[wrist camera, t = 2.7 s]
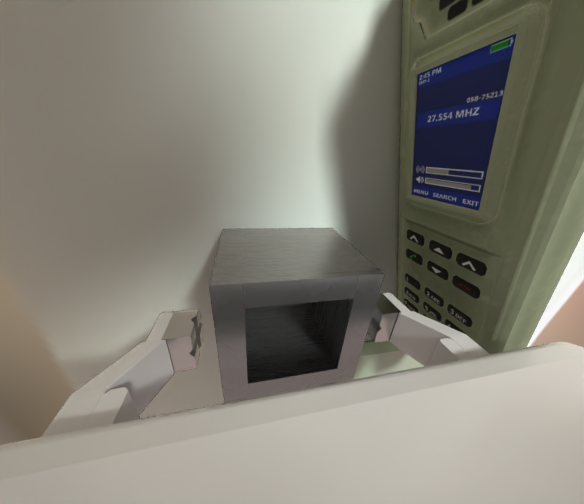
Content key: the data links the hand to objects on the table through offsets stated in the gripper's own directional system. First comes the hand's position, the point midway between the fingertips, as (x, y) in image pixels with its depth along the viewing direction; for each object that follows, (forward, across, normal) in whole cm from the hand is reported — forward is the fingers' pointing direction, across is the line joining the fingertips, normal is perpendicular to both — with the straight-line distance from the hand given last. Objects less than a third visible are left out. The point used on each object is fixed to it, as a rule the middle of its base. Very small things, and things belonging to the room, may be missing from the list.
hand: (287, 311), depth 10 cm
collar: (+3, 0, 0) cm, 3 cm away
